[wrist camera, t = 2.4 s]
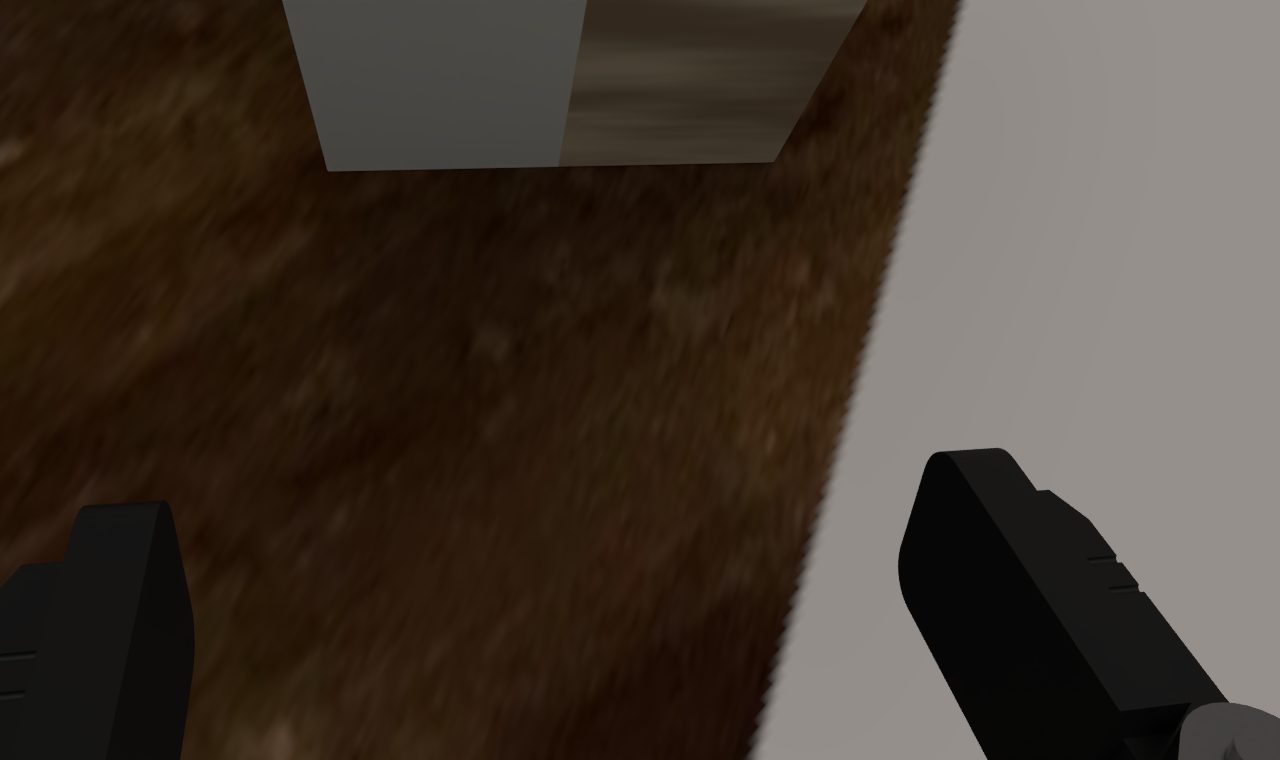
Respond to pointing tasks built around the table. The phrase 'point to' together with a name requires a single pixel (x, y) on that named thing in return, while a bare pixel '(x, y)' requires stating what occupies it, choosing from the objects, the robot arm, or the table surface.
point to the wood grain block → (697, 78)
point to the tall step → (437, 80)
